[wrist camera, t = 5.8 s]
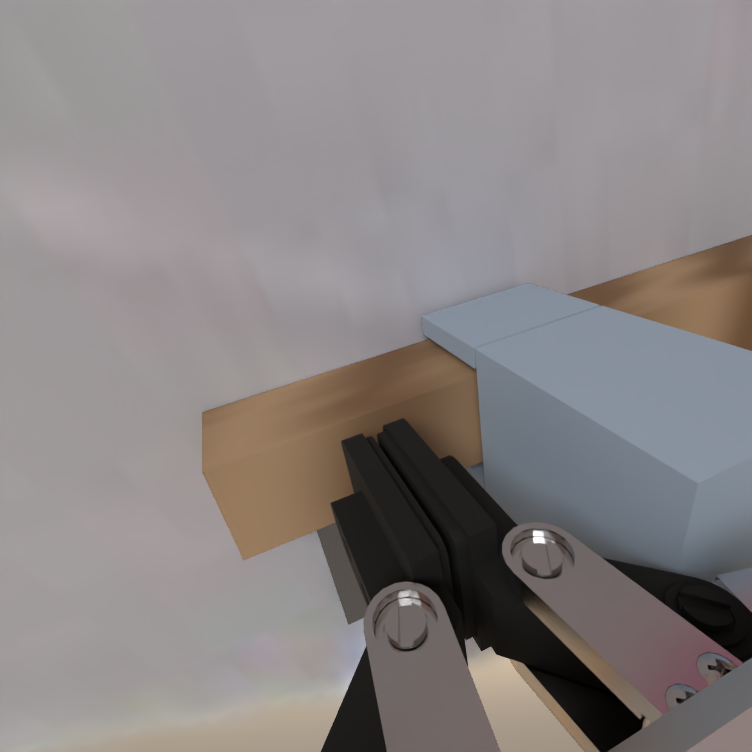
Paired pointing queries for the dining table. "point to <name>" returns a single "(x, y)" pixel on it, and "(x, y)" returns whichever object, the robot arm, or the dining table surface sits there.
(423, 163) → the dining table surface
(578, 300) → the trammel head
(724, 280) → the beam
